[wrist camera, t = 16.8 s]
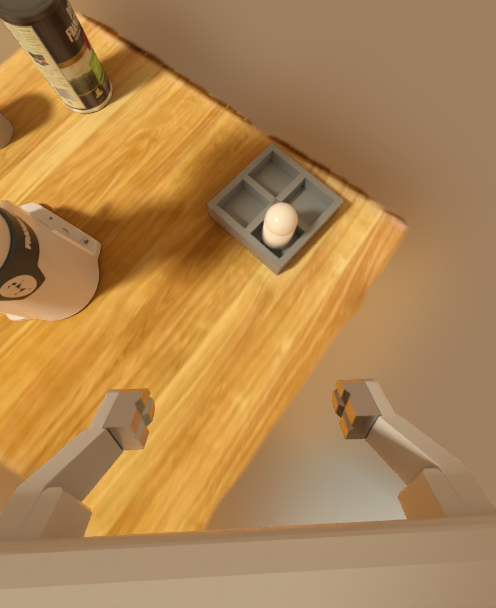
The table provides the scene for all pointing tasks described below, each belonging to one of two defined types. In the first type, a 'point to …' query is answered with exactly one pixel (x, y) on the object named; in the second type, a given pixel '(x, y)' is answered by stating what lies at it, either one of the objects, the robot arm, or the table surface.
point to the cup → (5, 131)
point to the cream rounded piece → (279, 226)
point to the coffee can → (59, 51)
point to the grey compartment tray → (266, 192)
